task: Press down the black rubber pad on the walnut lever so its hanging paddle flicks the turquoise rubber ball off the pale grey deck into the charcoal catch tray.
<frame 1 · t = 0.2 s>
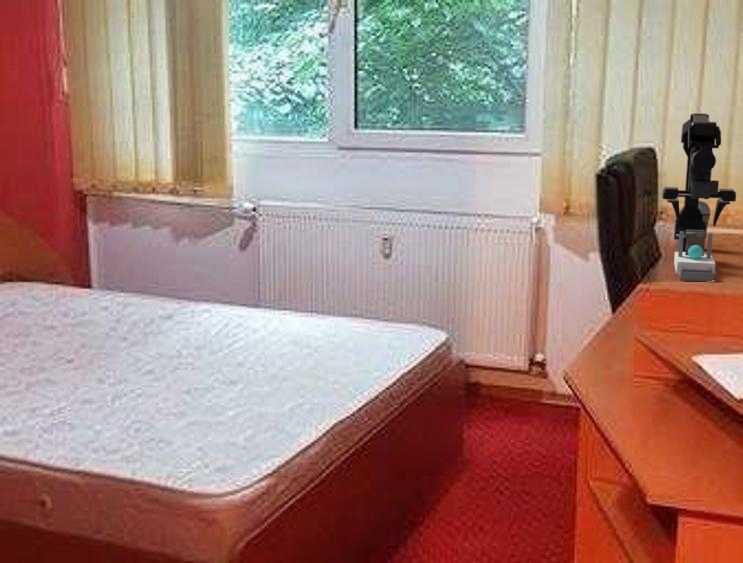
hand: (696, 225, 256), 14 cm above the table, tool pointing down, fingers open, 9 cm apart
beverage cup: (696, 249, 302), on the table
catch tray: (696, 278, 256), on the table
deck: (693, 269, 269), on the table
ball: (695, 252, 265), point 5 cm above the table, touching deck
lever: (694, 242, 269), point 7 cm above the table, hinge at 0.0°
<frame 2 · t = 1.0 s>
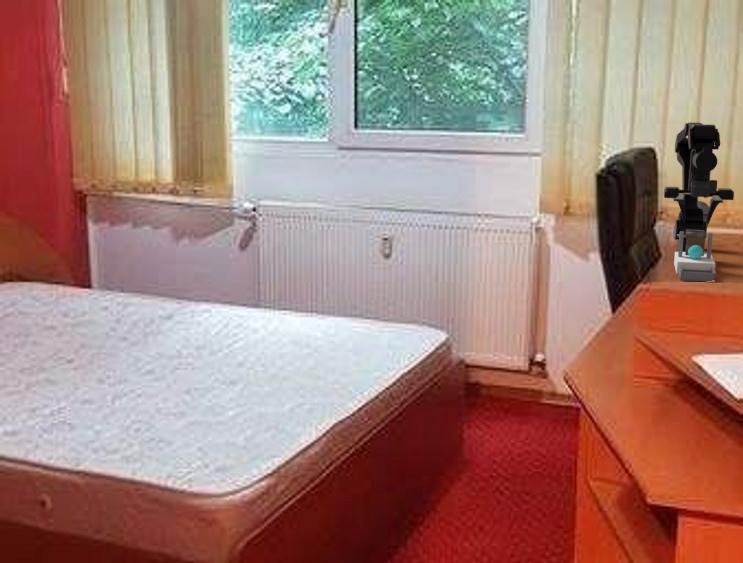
hand: (696, 223, 269), 13 cm above the table, tool pointing down, fingers open, 6 cm apart
nothing on the table moved.
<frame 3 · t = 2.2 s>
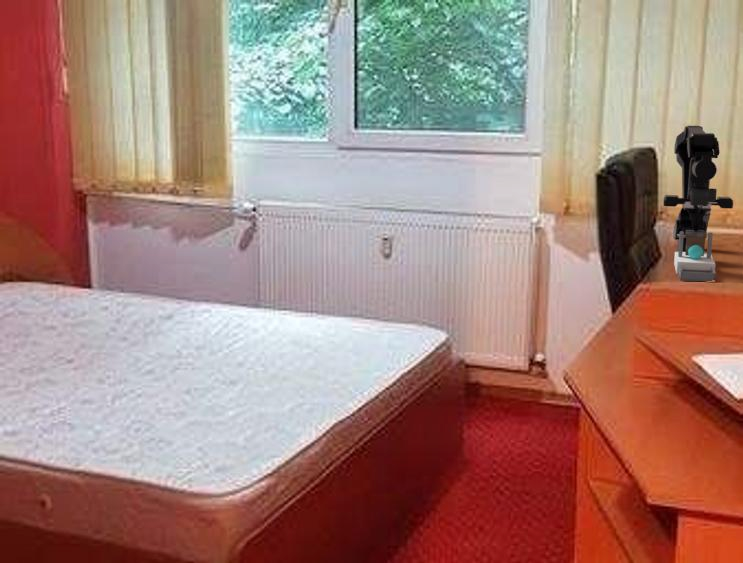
hand: (695, 231, 270), 11 cm above the table, tool pointing down, fingers closed, pressing on lever
lever: (694, 243, 269), point 7 cm above the table, hinge at -1.8°, touching gripper
everything else where it was.
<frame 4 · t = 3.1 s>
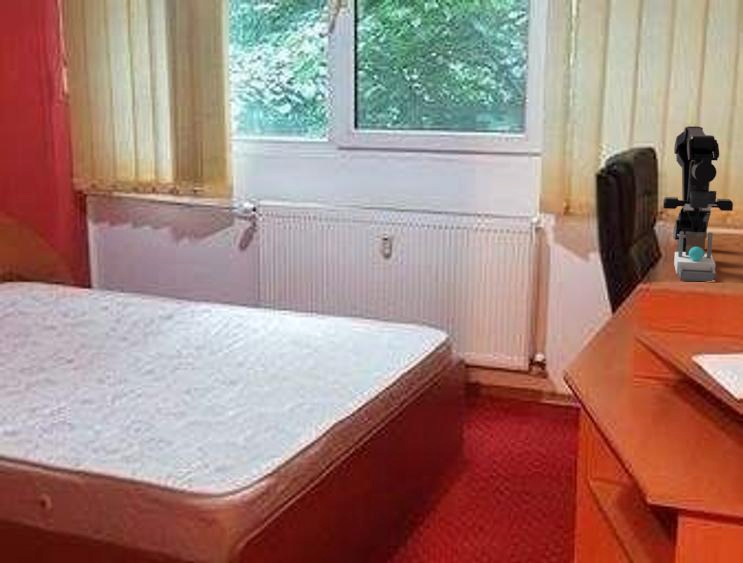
hand: (695, 233, 270), 10 cm above the table, tool pointing down, fingers closed, pressing on lever
ball: (696, 253, 262), point 5 cm above the table, tilted 80°, touching deck
lever: (695, 244, 268), point 7 cm above the table, hinge at -16.1°, touching gripper
everything else where it was.
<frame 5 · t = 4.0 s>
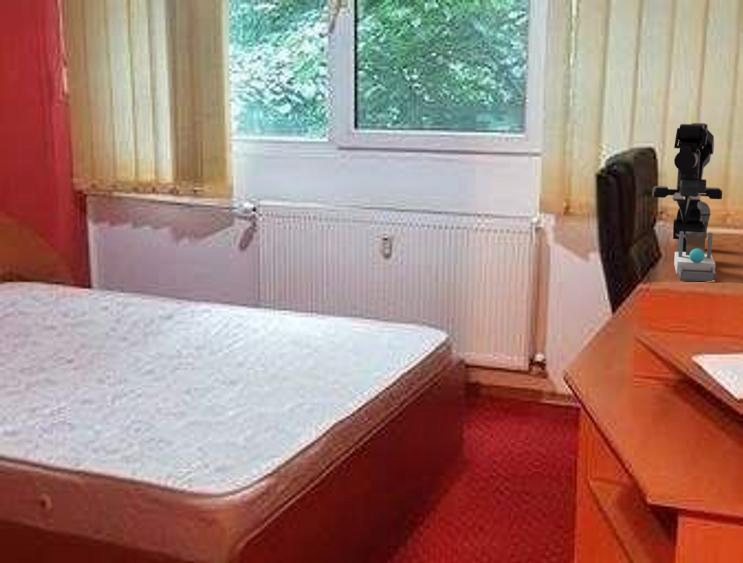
hand: (684, 222, 270), 13 cm above the table, tool pointing down, fingers closed
ball: (696, 255, 259), point 5 cm above the table, tilted 174°, touching deck
lever: (695, 244, 268), point 7 cm above the table, hinge at -20.3°
everything else where it was.
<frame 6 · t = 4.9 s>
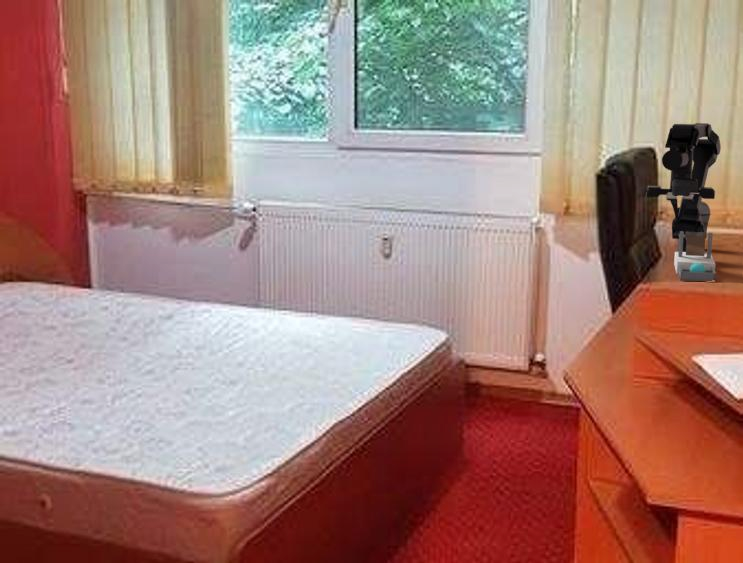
hand: (677, 221, 271), 13 cm above the table, tool pointing down, fingers closed
ball: (697, 270, 254), point 2 cm above the table, tilted 12°, touching catch tray
lever: (695, 245, 268), point 7 cm above the table, hinge at -20.7°
everything else where it was.
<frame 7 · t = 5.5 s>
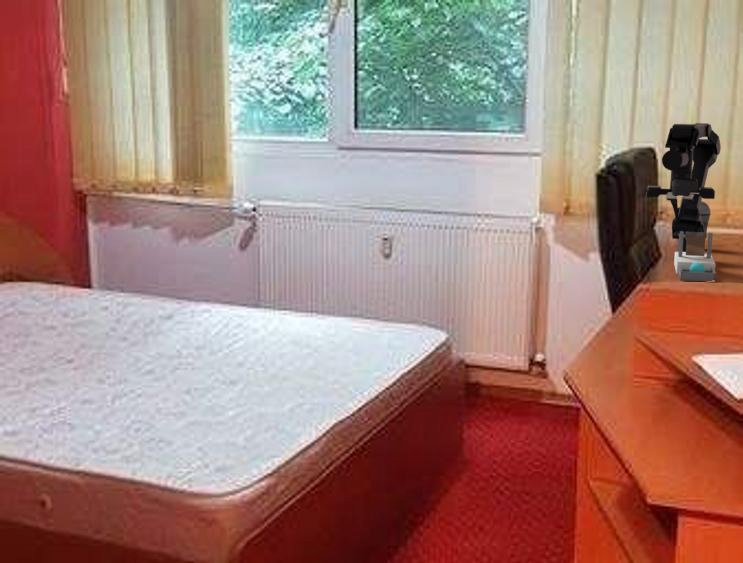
hand: (677, 221, 271), 13 cm above the table, tool pointing down, fingers closed
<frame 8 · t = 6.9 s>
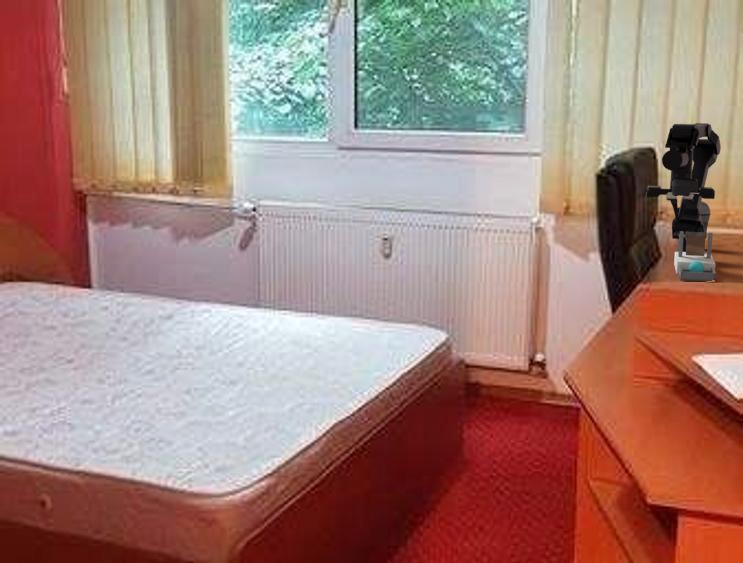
hand: (677, 221, 271), 13 cm above the table, tool pointing down, fingers closed
ball: (696, 268, 257), point 2 cm above the table, tilted 80°, touching catch tray
everything else where it was.
at the end: ball inside the target area on the catch tray (2.2 cm from its centre), point 2.5 cm above the catch tray's base; ball moved 9.2 cm from its start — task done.
